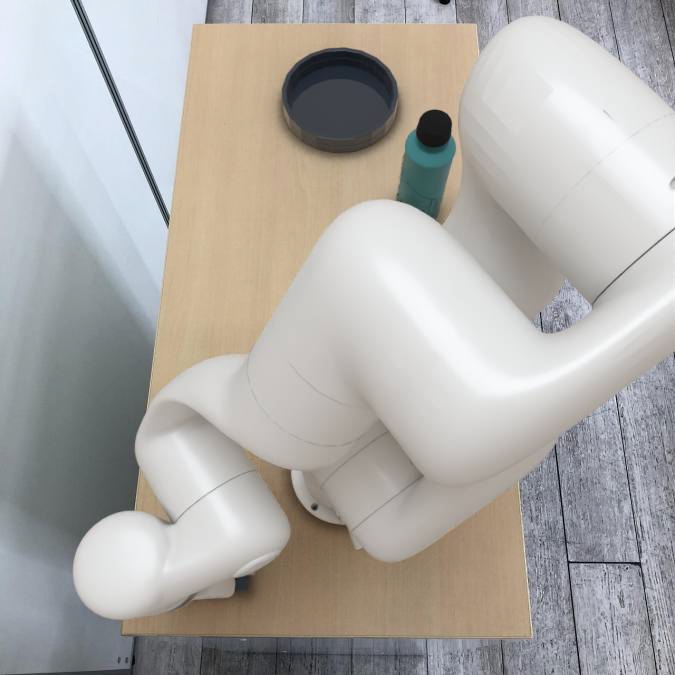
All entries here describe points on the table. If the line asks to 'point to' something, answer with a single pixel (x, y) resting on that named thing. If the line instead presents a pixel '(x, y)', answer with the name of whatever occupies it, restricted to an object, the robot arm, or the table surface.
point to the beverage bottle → (427, 163)
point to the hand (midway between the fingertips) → (202, 570)
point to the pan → (339, 99)
